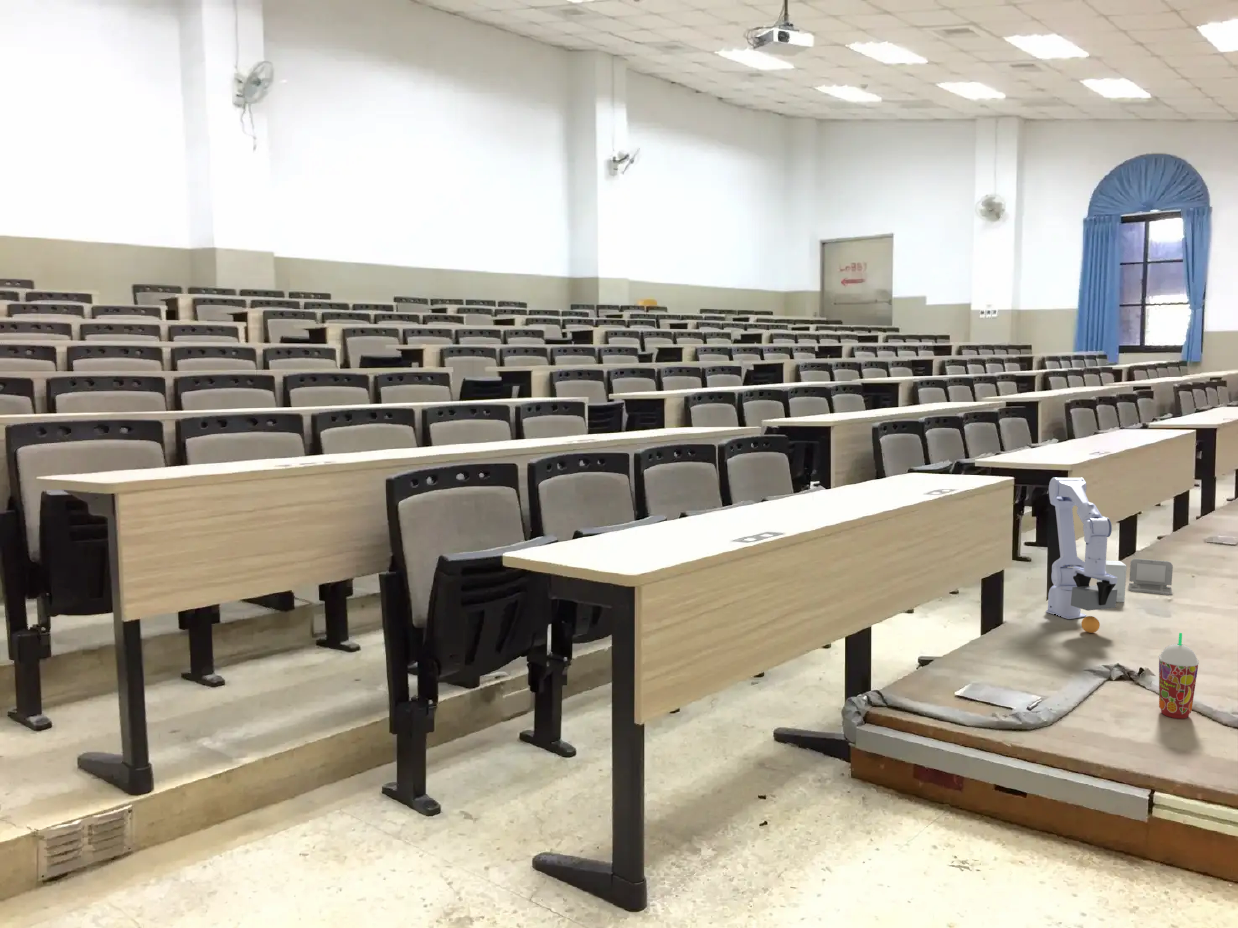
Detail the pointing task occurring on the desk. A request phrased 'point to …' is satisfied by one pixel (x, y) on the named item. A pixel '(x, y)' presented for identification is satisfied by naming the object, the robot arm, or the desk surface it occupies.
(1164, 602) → the desk surface
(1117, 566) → the supplement box
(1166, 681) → the smoothie
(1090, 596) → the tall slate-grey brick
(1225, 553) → the desk surface
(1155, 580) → the handheld gaming console
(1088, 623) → the ball
